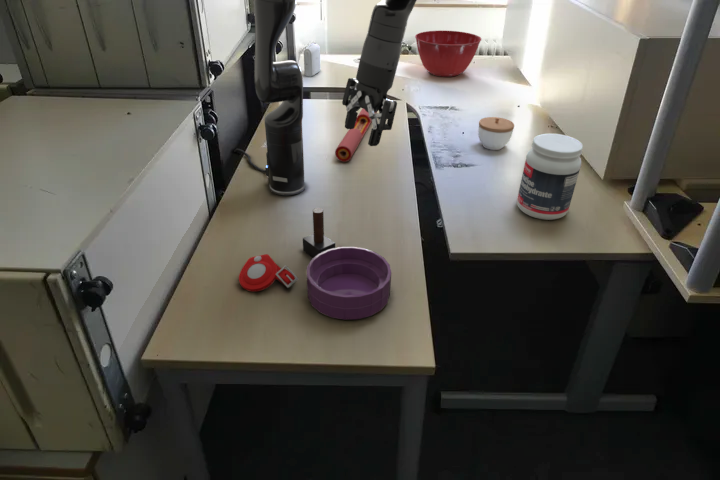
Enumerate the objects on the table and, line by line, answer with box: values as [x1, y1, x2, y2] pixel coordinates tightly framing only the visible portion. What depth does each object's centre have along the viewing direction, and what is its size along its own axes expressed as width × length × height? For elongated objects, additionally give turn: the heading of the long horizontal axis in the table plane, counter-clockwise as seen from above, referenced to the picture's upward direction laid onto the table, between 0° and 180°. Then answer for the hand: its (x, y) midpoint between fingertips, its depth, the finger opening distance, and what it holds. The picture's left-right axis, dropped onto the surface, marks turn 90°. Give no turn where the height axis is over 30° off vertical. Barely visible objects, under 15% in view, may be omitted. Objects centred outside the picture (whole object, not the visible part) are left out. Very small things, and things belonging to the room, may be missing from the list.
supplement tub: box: [516, 132, 584, 221], centre depth 130 cm, size 13×13×18 cm
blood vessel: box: [334, 108, 378, 163], centre depth 172 cm, size 42×5×5 cm, turn 167°
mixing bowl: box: [414, 30, 482, 78], centre depth 233 cm, size 28×28×16 cm
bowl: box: [306, 246, 392, 320], centre depth 104 cm, size 16×16×6 cm
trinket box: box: [477, 116, 515, 151], centre depth 166 cm, size 11×11×9 cm
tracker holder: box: [238, 253, 299, 293], centre depth 108 cm, size 12×4×10 cm
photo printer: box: [303, 43, 321, 77], centre depth 228 cm, size 10×4×12 cm, turn 160°
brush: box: [302, 207, 336, 259], centre depth 114 cm, size 6×4×11 cm
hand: (360, 136), depth 113 cm, fingers open, 8 cm apart
